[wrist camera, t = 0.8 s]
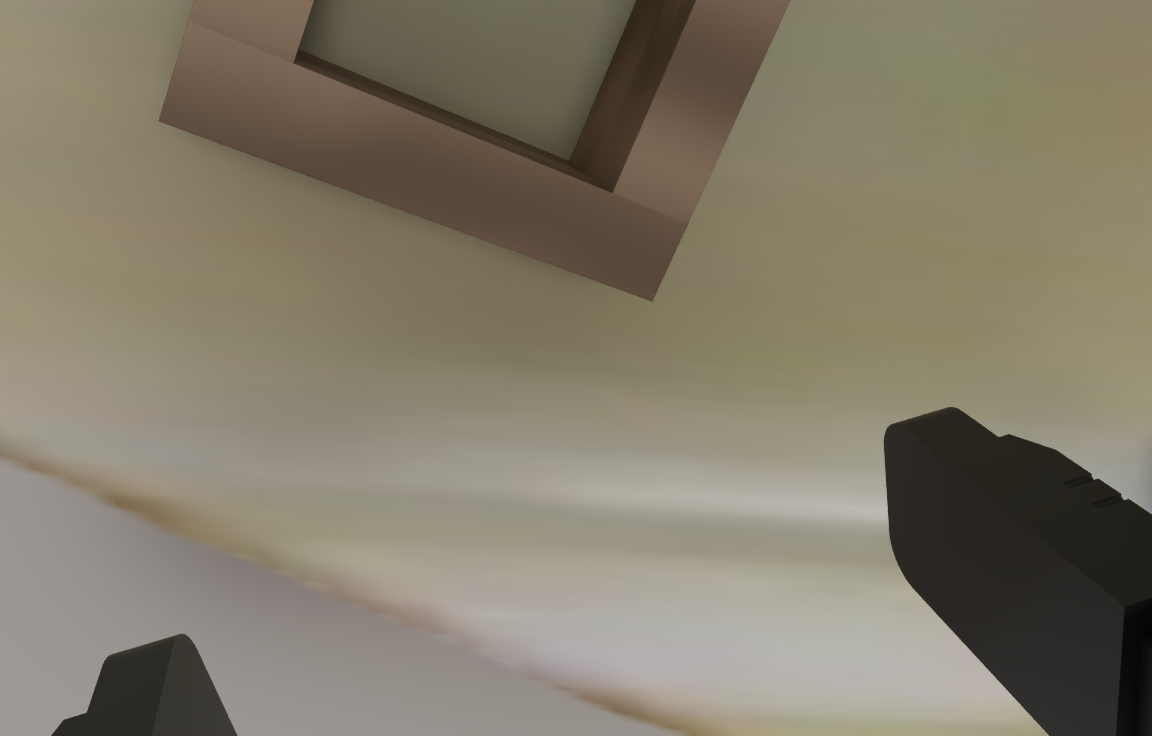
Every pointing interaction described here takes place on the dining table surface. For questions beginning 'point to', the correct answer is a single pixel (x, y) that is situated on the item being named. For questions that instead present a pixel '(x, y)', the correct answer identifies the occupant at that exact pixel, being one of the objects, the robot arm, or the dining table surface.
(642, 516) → the dining table surface
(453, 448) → the dining table surface
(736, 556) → the dining table surface
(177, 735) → the robot arm
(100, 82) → the dining table surface
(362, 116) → the frame
